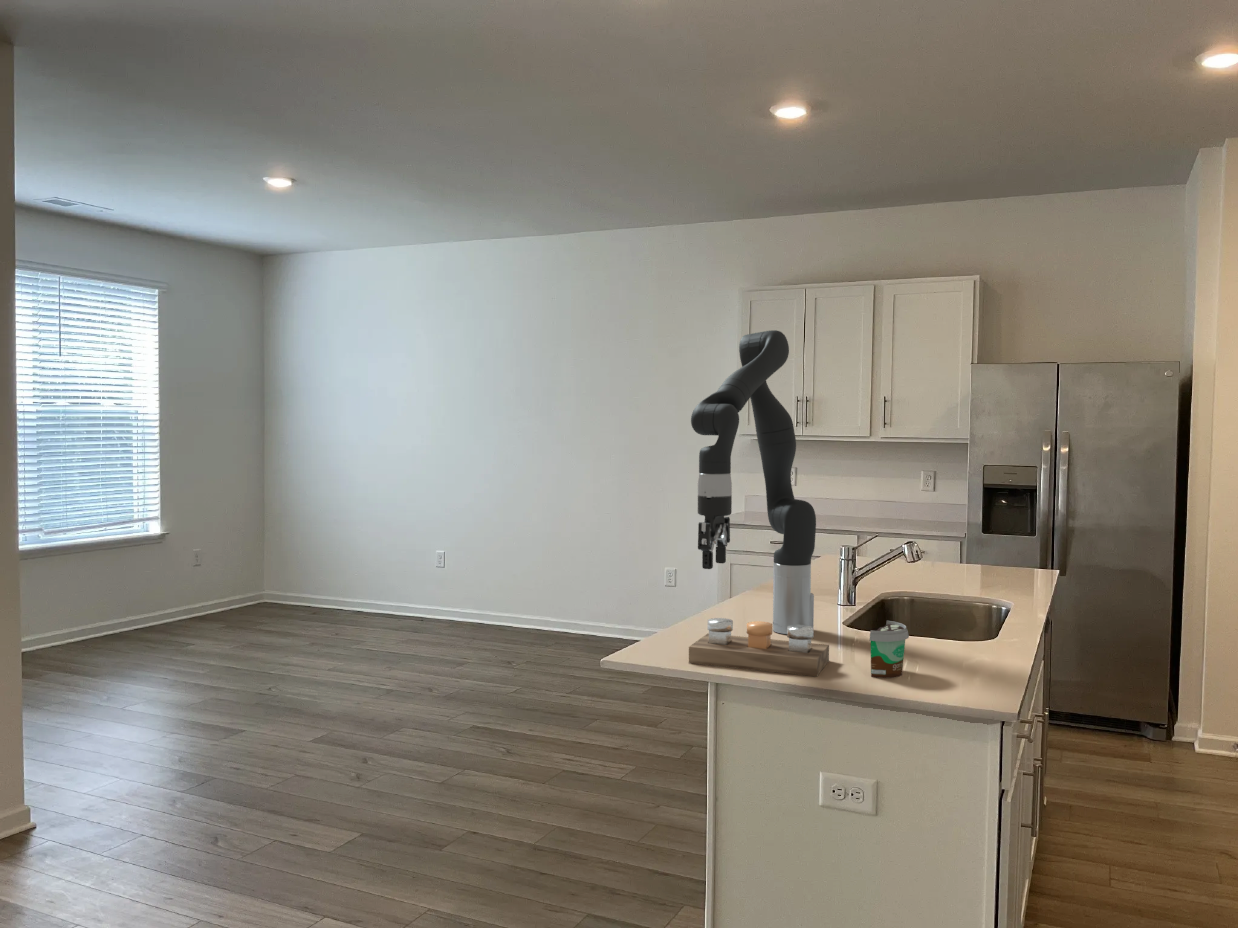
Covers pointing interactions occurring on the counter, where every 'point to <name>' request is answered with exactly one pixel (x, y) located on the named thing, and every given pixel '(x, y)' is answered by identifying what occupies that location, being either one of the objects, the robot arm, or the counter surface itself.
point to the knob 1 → (720, 630)
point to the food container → (888, 650)
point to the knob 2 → (800, 638)
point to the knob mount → (760, 656)
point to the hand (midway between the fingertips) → (714, 565)
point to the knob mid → (759, 634)
